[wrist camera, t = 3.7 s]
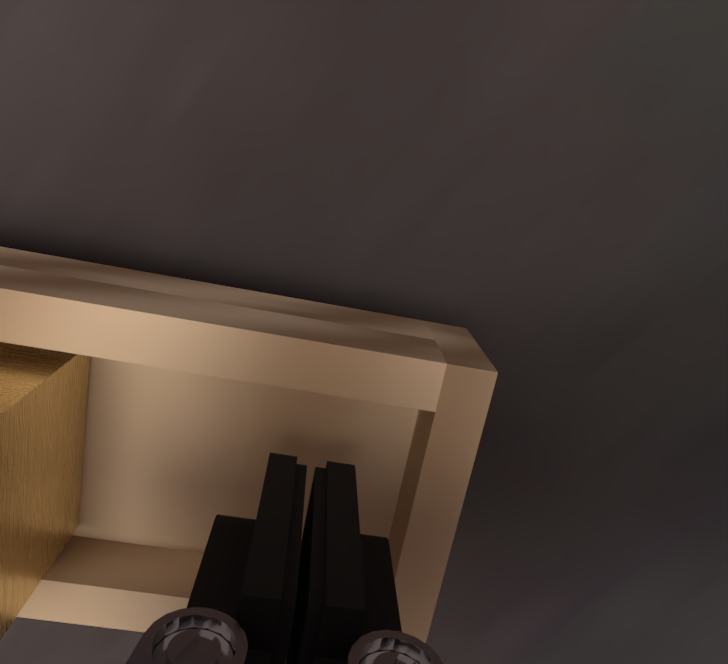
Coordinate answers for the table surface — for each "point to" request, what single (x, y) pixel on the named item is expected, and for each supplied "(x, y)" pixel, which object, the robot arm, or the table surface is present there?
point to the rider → (38, 465)
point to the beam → (241, 426)
